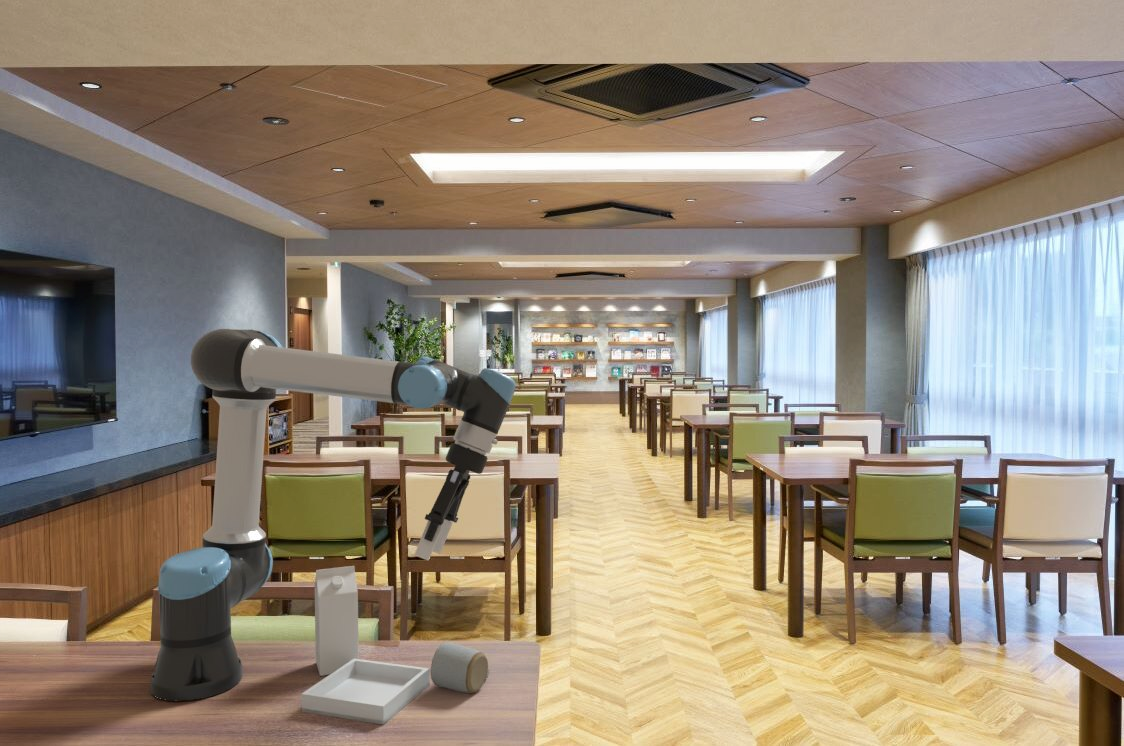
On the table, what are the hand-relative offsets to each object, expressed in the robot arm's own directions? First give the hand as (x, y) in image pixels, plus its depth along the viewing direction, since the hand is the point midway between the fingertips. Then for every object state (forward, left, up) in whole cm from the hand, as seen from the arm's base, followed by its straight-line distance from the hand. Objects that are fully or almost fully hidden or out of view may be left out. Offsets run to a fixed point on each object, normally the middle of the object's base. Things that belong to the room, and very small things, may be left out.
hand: (427, 554), depth 146 cm
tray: (-5, -14, -22) cm, 26 cm away
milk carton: (-18, -4, -22) cm, 29 cm away
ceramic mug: (+9, -4, -22) cm, 24 cm away
